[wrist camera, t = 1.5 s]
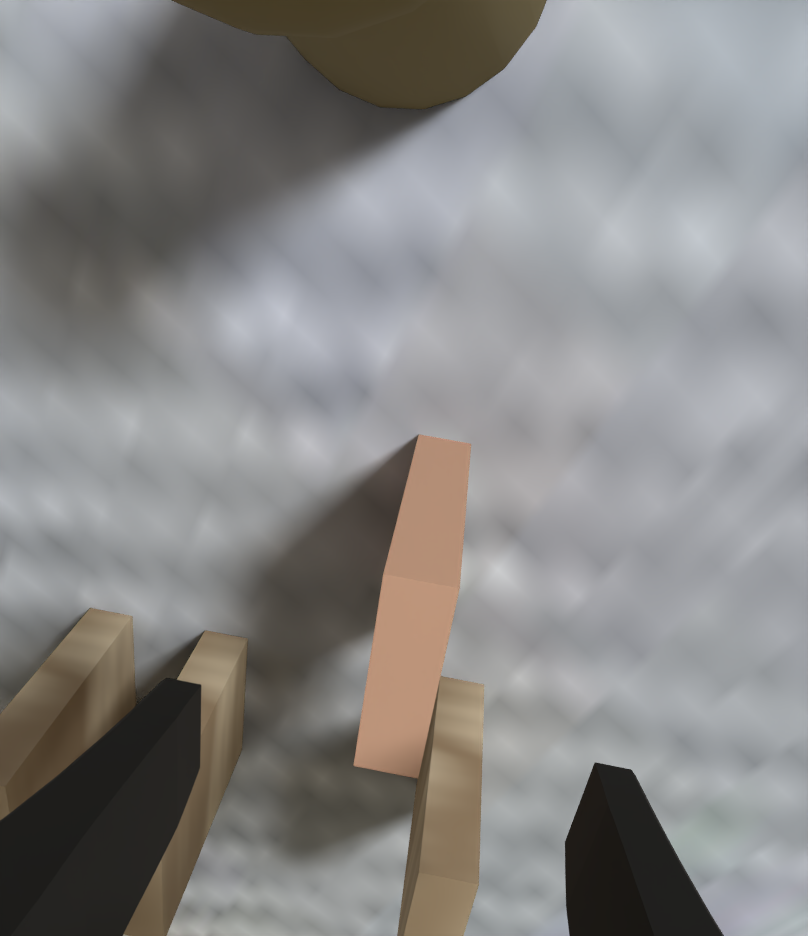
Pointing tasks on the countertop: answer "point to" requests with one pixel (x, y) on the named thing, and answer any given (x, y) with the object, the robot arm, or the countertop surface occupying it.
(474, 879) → the end domino
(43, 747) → the domino
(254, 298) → the countertop surface
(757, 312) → the countertop surface
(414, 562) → the domino
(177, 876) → the middle domino
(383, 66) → the cork
